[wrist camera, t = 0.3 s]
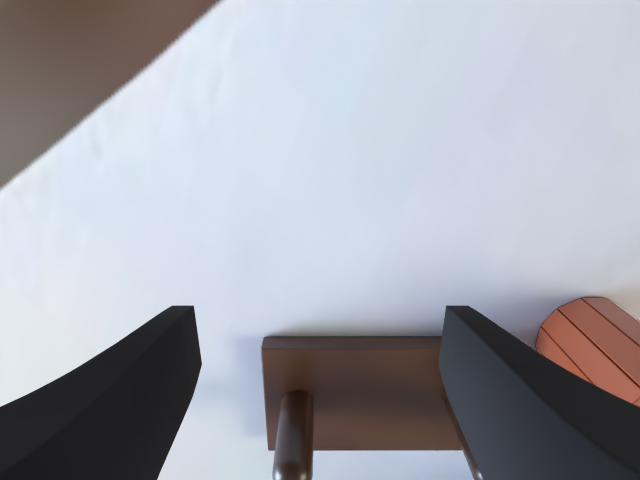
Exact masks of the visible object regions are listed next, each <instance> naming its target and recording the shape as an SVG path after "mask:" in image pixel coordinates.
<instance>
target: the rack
mask: <svg viewBox="0 0 640 480" xmlns="http://www.w3.org/2000/svg"><path fill="white" fill-rule="evenodd" d="M441 341H442V337H264V338H263V343H262V347H261V357H262V371H263V385H264V399H265V413H266V427H267V440H268V450H269V451H275V456H274V464H273V480H312V475H313V450H463V452H464V455H465V457H466V460H467V462H468V465H469V468H470V470H471V473H472V475H473V478H474V480H483V478H482V476H481V473H480V471H479V469H478V466H477V464H476V462H475V459H474V457H473V455H472V453H471V450H470V448H469V446H468V443H467V441H466V439H465V437H464V434H463V432H462V430H461V427H460V425H459V423H458V421H457V418H456V416H455V414H454V411H453V409H452V406H451V404H450V402H449V399H448V397H447V394H446V390H445V387H444V384H443V380H442V376H441V373H440V369H439V365H438V362H439V355H440V348H441Z"/></svg>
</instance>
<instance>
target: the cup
mask: <svg viewBox="0 0 640 480" xmlns="http://www.w3.org/2000/svg"><path fill="white" fill-rule="evenodd" d="M558 309H559V310H557V309H556V310H555V311H554V312H553V313H552V314H551V315H550V316H549V317H548V319H547V320H546V321H545V322H544V323H543V324H542V325H541V326H542V327H540V329H539V334H538V338H537V342H536V349H537V351H538V353H540V354H541V355H543V356H545V357H546V358H548V359H550V360H551V361H553V362H555V363H556V364H558V365H560V366H561V367H563V368H565V369H566V370H568V371H570V372H571V373H573V374H575V375H577V376H579V377H580V378H582V379H584V380H586V381H588V382H590V383H592V384H594V385H596V386H598V387H599V388H601V389H603V390H605V391H607V392H609V393H611V394H613V395H615V396H617V397H619V398H621V399H623V400H626V401H628V402H630V403H632V404H634V405H636V406H639V407H640V320H639V319H638V318H636V317H635V316H634V315H632V314H631V313H630V312H628V311H627V310H626V309H624V308H623V307H621V306H620V305H618V304H616V303H615V302H613V301H611V300H609V299H608V298H582V299H580V298H579V299H577V300H575V301H573V302H570V303H568V304H566V305H563V306H561V307H559V308H558Z"/></svg>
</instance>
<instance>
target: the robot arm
mask: <svg viewBox="0 0 640 480" xmlns="http://www.w3.org/2000/svg"><path fill="white" fill-rule="evenodd" d="M201 365H202V362H201V355H200V347H199V340H198V333H197V326H196V319H195V312H194V306H171V307H169V308H168V309H166V310H164V311H163V312H161V313H160V314H158V315H157V316H155V317H154V318H152V319H151V320H149V321H148V322H147V323H145V324H144V325H142V326H141V327H139V328H138V329H136V330H135V331H134V332H132V333H131V334H129V335H128V336H126V337H125V338H123V339H122V340H120V341H119V342H117V343H116V344H114V345H113V346H111V347H110V348H108V349H106V350H105V351H103V352H102V353H100V354H98V355H97V356H95V357H94V358H92V359H90V360H89V361H87V362H86V363H84V364H83V365H81V366H79V367H78V368H76V369H74V370H72V371H71V372H69V373H67V374H65V375H64V376H62V377H60V378H58V379H56V380H54V381H52V382H51V383H49V384H47V385H45V386H43V387H41V388H39V389H37V390H35V391H33V392H31V393H29V394H27V395H25V396H23V397H21V398H19V399H17V400H14V401H12V402H10V403H8V404H6V405H4V406H1V407H0V480H157V478H158V476H159V473H160V471H161V469H162V466H163V464H164V462H165V460H166V457H167V455H168V453H169V450H170V448H171V446H172V444H173V441H174V439H175V437H176V434H177V432H178V430H179V428H180V425H181V423H182V421H183V418H184V416H185V414H186V411H187V409H188V407H189V404H190V402H191V399H192V397H193V394H194V390H195V387H196V384H197V380H198V377H199V373H200V369H201ZM438 365H439V369H440V373H441V376H442V380H443V384H444V387H445V390H446V394H447V397H448V399H449V402H450V404H451V406H452V409H453V411H454V414H455V416H456V418H457V421H458V423H459V425H460V427H461V430H462V432H463V434H464V437H465V439H466V441H467V443H468V446H469V448H470V450H471V453H472V455H473V457H474V459H475V462H476V464H477V466H478V469H479V471H480V473H481V476H482V478H483V480H640V407H639V406H636V405H634V404H632V403H630V402H628V401H626V400H623V399H621V398H619V397H617V396H615V395H613V394H611V393H609V392H607V391H605V390H603V389H601V388H599V387H598V386H596V385H594V384H592V383H590V382H588V381H586V380H584V379H582V378H580V377H579V376H577V375H575V374H573V373H571V372H570V371H568V370H566V369H565V368H563V367H561V366H560V365H558V364H556V363H555V362H553V361H551V360H550V359H548V358H546V357H545V356H543V355H541V354H540V353H538V352H537V351H535V350H534V349H532V348H531V347H529V346H527V345H526V344H524V343H523V342H521V341H520V340H518V339H517V338H515V337H514V336H513V335H511V334H510V333H508V332H507V331H505V330H504V329H502V328H501V327H499V326H498V325H497V324H495V323H494V322H492V321H491V320H489V319H488V318H486V317H485V316H483V315H482V314H480V313H479V312H477V311H476V310H474V309H473V308H471V307H469V306H446V312H445V319H444V326H443V333H442V341H441V348H440V355H439V362H438Z"/></svg>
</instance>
